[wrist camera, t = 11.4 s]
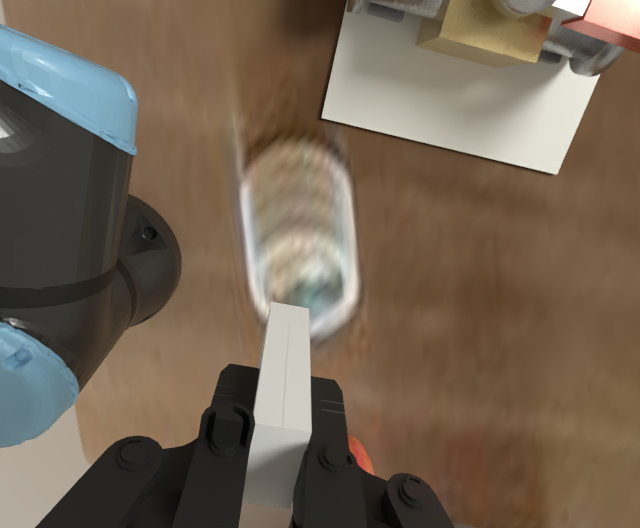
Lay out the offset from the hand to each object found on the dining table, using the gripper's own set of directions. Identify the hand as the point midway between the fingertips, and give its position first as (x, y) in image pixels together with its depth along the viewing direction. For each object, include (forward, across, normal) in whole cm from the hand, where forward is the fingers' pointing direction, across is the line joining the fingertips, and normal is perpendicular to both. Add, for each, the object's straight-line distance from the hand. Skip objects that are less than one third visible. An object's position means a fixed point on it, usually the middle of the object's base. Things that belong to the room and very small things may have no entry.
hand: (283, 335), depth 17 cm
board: (+29, +14, +14) cm, 35 cm away
